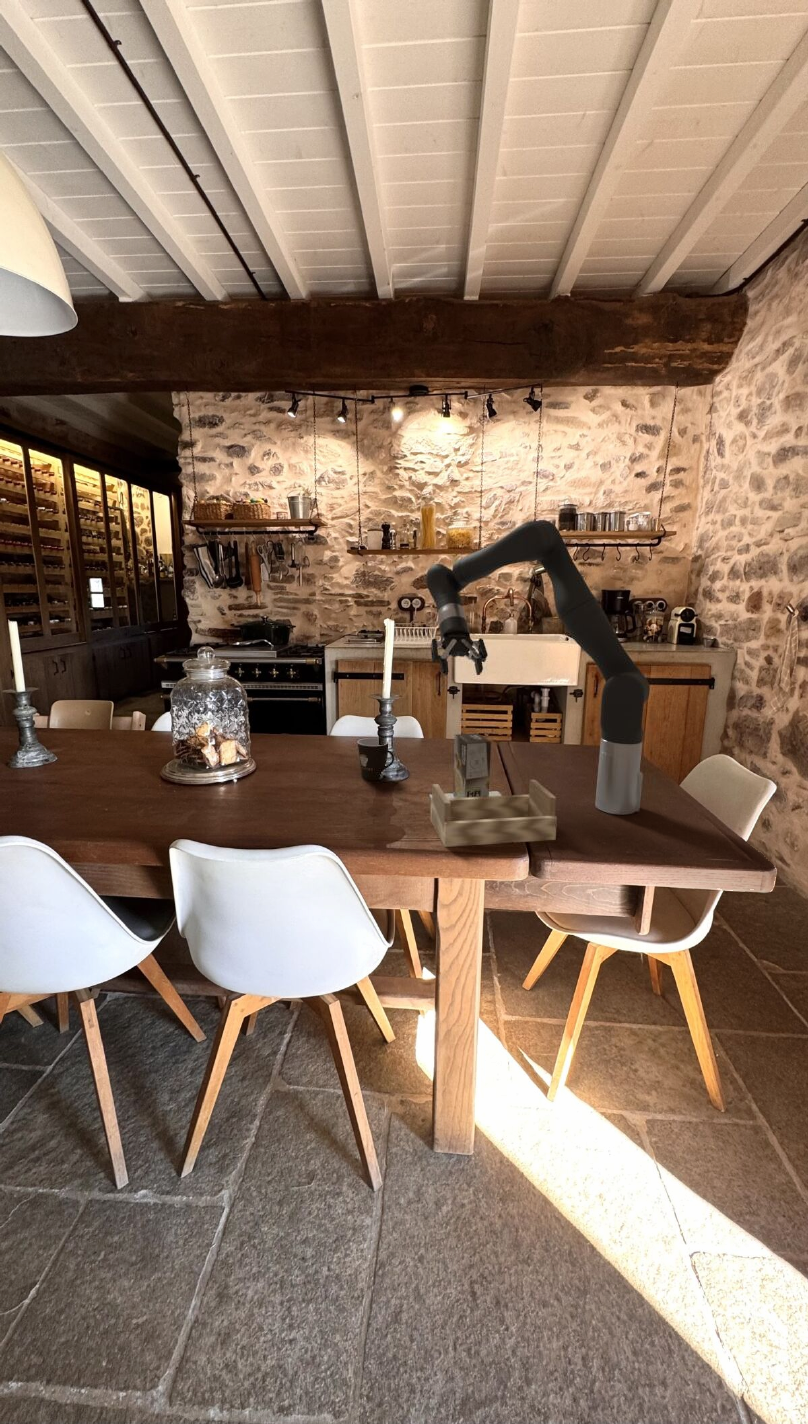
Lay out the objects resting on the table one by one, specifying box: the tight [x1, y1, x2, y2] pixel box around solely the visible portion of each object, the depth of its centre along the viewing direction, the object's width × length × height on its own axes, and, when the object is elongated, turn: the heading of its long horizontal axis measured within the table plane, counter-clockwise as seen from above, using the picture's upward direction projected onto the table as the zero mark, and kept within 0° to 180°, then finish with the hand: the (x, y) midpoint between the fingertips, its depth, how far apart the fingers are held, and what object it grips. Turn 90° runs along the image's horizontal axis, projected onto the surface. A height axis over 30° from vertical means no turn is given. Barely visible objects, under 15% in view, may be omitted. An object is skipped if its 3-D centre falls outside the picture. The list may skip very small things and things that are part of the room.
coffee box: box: [452, 732, 492, 798], centre depth 142 cm, size 9×6×16 cm
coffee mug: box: [357, 737, 395, 781], centre depth 160 cm, size 12×9×10 cm
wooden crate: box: [430, 779, 558, 848], centre depth 127 cm, size 24×14×9 cm, turn 100°
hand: (463, 673), depth 147 cm, fingers open, 8 cm apart
